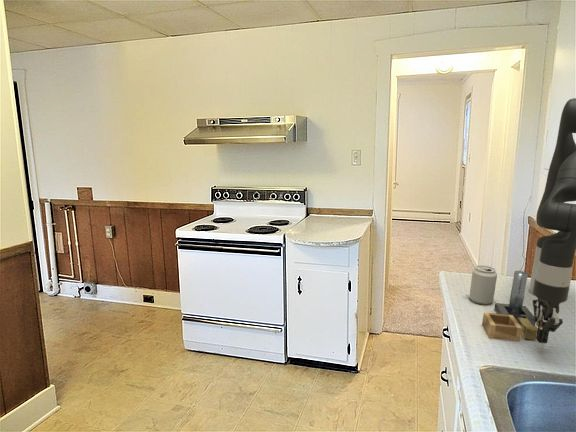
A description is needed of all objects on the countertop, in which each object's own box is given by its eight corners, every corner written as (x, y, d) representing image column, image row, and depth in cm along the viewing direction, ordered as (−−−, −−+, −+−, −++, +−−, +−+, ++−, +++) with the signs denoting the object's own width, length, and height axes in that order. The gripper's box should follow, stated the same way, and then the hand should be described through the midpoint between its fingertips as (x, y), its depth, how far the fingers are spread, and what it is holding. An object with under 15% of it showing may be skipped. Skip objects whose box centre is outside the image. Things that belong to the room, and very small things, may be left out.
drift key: (515, 326, 122) (517, 315, 121) (526, 327, 122) (528, 316, 121) (524, 338, 116) (526, 327, 115) (535, 339, 115) (537, 328, 114)
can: (491, 307, 135) (496, 273, 132) (467, 302, 139) (471, 268, 136) (494, 299, 141) (499, 266, 138) (470, 294, 145) (475, 262, 142)
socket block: (494, 309, 133) (495, 302, 133) (524, 312, 132) (525, 305, 131) (502, 323, 125) (503, 315, 124) (534, 326, 123) (536, 318, 123)
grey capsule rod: (505, 314, 130) (512, 270, 127) (517, 315, 130) (525, 271, 126) (509, 319, 127) (516, 274, 123) (521, 321, 126) (529, 275, 123)
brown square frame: (482, 324, 124) (483, 312, 123) (510, 327, 122) (512, 315, 121) (489, 337, 116) (491, 325, 115) (520, 341, 114) (522, 328, 113)
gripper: (581, 291, 97) (568, 357, 101) (557, 272, 110) (546, 331, 114) (547, 288, 99) (535, 353, 102) (526, 269, 111) (517, 328, 115)
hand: (541, 341), depth 108 cm, fingers closed
